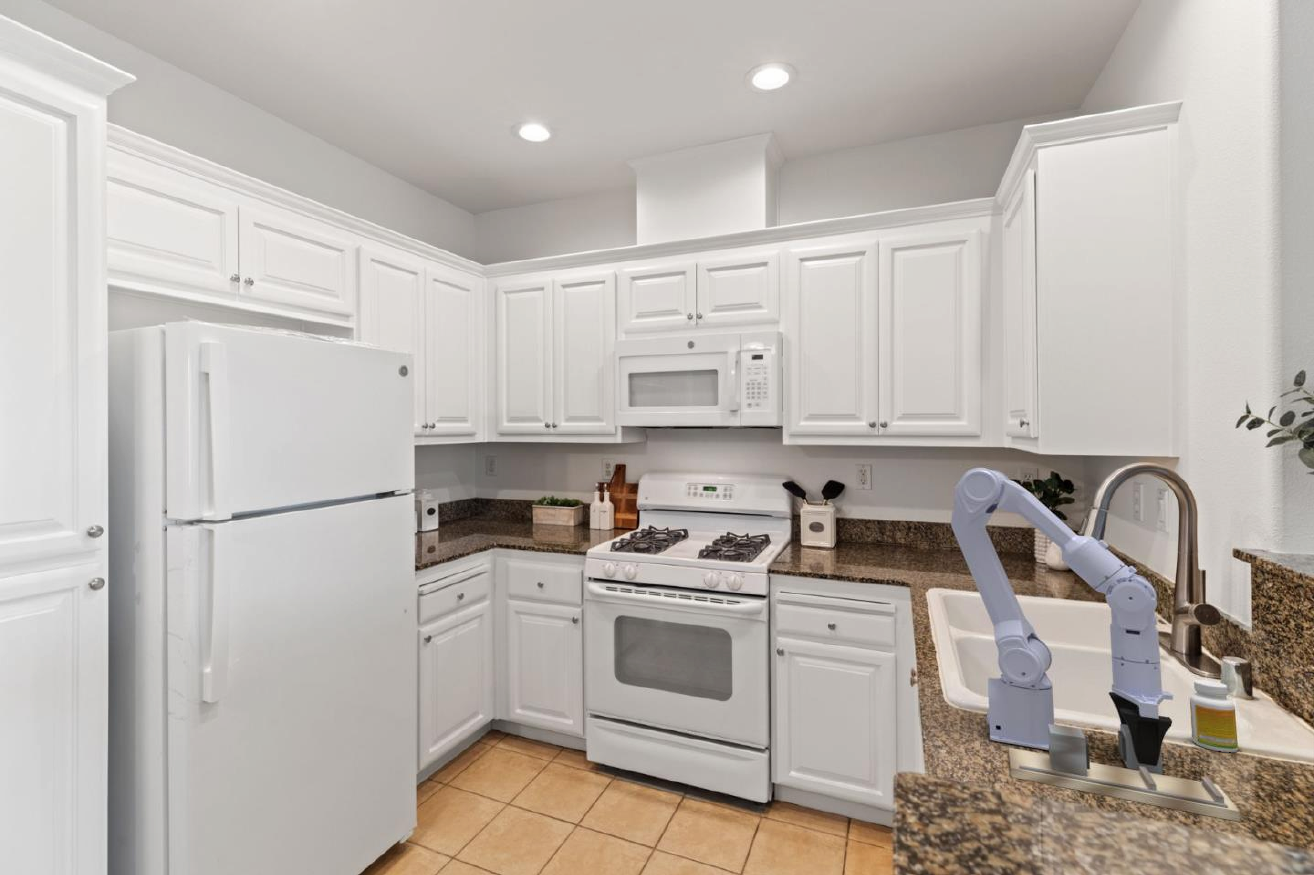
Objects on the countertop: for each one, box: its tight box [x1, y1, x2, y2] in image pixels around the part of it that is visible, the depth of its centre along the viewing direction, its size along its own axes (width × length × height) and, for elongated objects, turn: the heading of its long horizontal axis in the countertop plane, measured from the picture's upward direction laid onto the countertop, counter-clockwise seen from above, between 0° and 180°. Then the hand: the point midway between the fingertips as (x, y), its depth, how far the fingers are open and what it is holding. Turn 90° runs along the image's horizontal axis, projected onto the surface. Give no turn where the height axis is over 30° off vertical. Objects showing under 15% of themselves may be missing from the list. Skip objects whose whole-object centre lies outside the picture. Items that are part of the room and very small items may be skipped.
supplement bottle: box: [1189, 679, 1239, 753], centre depth 98 cm, size 5×5×10 cm
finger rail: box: [1008, 724, 1242, 823], centre depth 83 cm, size 24×8×6 cm, turn 62°
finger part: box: [1117, 723, 1164, 775], centre depth 90 cm, size 4×4×5 cm
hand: (1141, 754), depth 90 cm, fingers open, 7 cm apart
